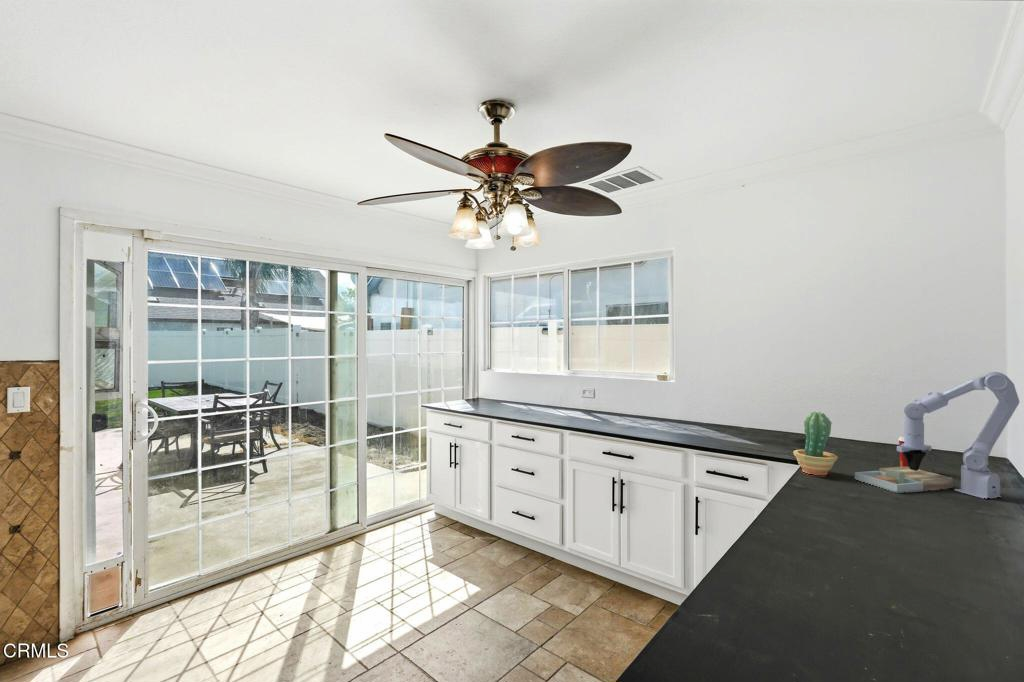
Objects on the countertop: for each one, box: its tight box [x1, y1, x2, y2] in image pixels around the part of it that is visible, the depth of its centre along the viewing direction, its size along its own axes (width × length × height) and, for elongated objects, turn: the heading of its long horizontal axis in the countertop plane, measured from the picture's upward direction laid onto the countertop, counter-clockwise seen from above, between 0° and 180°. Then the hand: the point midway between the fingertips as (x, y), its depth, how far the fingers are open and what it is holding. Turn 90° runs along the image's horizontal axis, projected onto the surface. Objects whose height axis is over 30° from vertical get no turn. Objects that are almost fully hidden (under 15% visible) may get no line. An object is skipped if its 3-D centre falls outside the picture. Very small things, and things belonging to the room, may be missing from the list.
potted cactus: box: [792, 411, 839, 475], centre depth 191 cm, size 15×15×25 cm
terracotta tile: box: [873, 475, 897, 484], centre depth 175 cm, size 5×5×2 cm
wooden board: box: [878, 466, 953, 492], centre depth 179 cm, size 16×14×4 cm
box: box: [854, 470, 924, 494], centre depth 176 cm, size 16×12×3 cm
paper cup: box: [897, 435, 909, 467], centre depth 196 cm, size 8×8×14 cm
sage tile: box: [886, 469, 904, 484], centre depth 176 cm, size 5×5×2 cm
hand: (913, 469), depth 178 cm, fingers closed
